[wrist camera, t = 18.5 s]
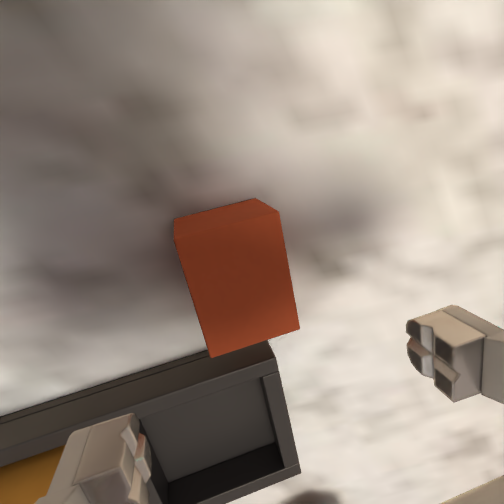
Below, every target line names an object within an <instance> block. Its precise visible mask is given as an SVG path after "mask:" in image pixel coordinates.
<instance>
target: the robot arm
mask: <svg viewBox="0 0 504 504" xmlns="http://www.w3.org/2000/svg"><path fill="white" fill-rule="evenodd" d="M406 333H407V334H408V335H409V336H410V337H411V338H410V340H409V341H408V343H407V353H408V356H409V358H410V361H411V363H412V364H413V366H414V367H415V368H416V370H418V371H419V372H420V373H421V374H422V375H424V376H427V377H430V378H433V380H434V385H435V387H437V388H438V389H439V390H440V391H441V392H442V393H443V394H445V395H446V396H447V397H448V398H449V399H450V400H451V401H453V402H457V401H460V400H463V399H465V398H468V397H471V396H474V395H477V394H480V393H481V395H483V396H486V397H488V398H491V399H493V400H495V401H498V402H500V403H503V404H504V330H503V329H501V328H499V327H497V326H495V325H494V324H492V323H490V322H488V321H486V320H484V319H482V318H480V317H478V316H476V315H474V314H472V313H471V312H469V311H467V310H465V309H463V308H461V307H459V306H456V305H450V306H447V307H444V308H441V309H439V310H437V311H434V312H431V313H428V314H425V315H422V316H420V317H417V318H414V319H411V320H408V322H407V324H406ZM139 429H140V422H139V420H138V418H137V415H136V414H135V413H130V414H127V415H123V416H120V417H117V418H114V419H110V420H107V421H104V422H101V423H98V424H94V425H93V426H89V427H86V428H83V429H79V430H76V431H74V432H73V433H72V434H71V435H70V436H69V438H68V441H67V443H66V446H65V448H64V451H63V453H62V456H61V459H60V461H59V464H58V466H57V469H56V471H55V474H54V476H53V479H52V482H51V484H50V487H49V489H48V492H47V494H46V496H44V497H41V498H39V499H38V500H37V501H36V502H35V503H34V504H149V495H150V493H149V490H148V488H147V486H146V483H147V481H148V479H149V478H150V476H151V469H152V461H151V451H150V447H149V443H148V440H147V438H146V436H145V435H143V434H141V433H139ZM440 504H504V475H503V476H501V477H498V478H496V479H494V480H492V481H489V482H487V483H485V484H483V485H480V486H478V487H476V488H474V489H471V490H469V491H467V492H465V493H462V494H460V495H458V496H456V497H453V498H451V499H449V500H447V501H444V502H442V503H440Z"/></svg>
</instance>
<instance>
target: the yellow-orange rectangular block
mask: <svg viewBox="0 0 504 504" xmlns="http://www.w3.org/2000/svg"><path fill="white" fill-rule="evenodd" d="M65 446H66V445H63V446H60V447H57V448H54V449H52V450H49V451H46V452H43V453H40V454H37V455H34V456H31V457H28V458H26V459H23V460H20V461H17V462H14V463H11V464H8V465H5V466H3V467H0V504H34V503H35V502H36V501H37V500H38V499H39V498H41V497H44V496H46V494H47V492H48V489H49V487H50V484H51V482H52V479H53V476H54V474H55V471H56V469H57V466H58V464H59V461H60V459H61V456H62V453H63V451H64V448H65Z"/></svg>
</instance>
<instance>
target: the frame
mask: <svg viewBox="0 0 504 504" xmlns="http://www.w3.org/2000/svg"><path fill="white" fill-rule="evenodd" d="M130 413H135V414H136V415H137V418H138V420H139V422H140V429H139V433H141V434H143V435H145V436H146V438H147V440H148V443H149V447H150V451H151V461H152V469H151V476H150V478H149V479H148V481H147V483H146V486H147V488H148V490H149V493H150V495H149V504H226V503H228V502H231V501H233V500H236V499H238V498H241V497H243V496H246V495H248V494H251V493H253V492H256V491H258V490H261V489H263V488H265V487H268V486H270V485H273V484H275V483H278V482H280V481H283V480H285V479H288V478H290V477H293V476H295V475H298V474H300V473H301V469H300V464H299V460H298V455H297V451H296V446H295V442H294V437H293V433H292V428H291V424H290V419H289V415H288V410H287V405H286V401H285V396H284V392H283V387H282V383H281V378H280V374H279V371H278V365H277V361H276V357H275V355H274V353H273V351H272V349H271V347H270V345H269V343H268V341H267V340H265V341H262V342H259V343H256V344H253V345H250V346H247V347H244V348H241V349H238V350H235V351H232V352H229V353H225V354H222V355H219V356H216V357H213V358H211V357H210V355H209V351H208V350H207V351H204V352H201V353H198V354H195V355H192V356H188V357H185V358H182V359H179V360H176V361H173V362H170V363H167V364H164V365H161V366H158V367H154V368H151V369H148V370H145V371H142V372H139V373H136V374H133V375H130V376H127V377H124V378H121V379H117V380H114V381H111V382H108V383H105V384H102V385H99V386H96V387H93V388H90V389H87V390H84V391H80V392H77V393H74V394H71V395H68V396H65V397H62V398H59V399H56V400H53V401H50V402H47V403H43V404H40V405H37V406H34V407H31V408H28V409H25V410H22V411H19V412H16V413H13V414H10V415H6V416H3V417H0V467H3V466H5V465H8V464H11V463H14V462H17V461H20V460H23V459H26V458H28V457H31V456H34V455H37V454H40V453H43V452H46V451H49V450H52V449H54V448H57V447H60V446H63V445H66V443H67V441H68V438H69V436H70V435H71V434H72V433H73V432H74V431H76V430H79V429H83V428H86V427H89V426H93V425H94V424H98V423H101V422H104V421H107V420H110V419H114V418H117V417H120V416H123V415H127V414H130Z"/></svg>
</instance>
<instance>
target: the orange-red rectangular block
mask: <svg viewBox="0 0 504 504" xmlns="http://www.w3.org/2000/svg"><path fill="white" fill-rule="evenodd" d="M174 243H175V246H176V249H177V252H178V256H179V259H180V262H181V265H182V268H183V272H184V275H185V278H186V281H187V284H188V288H189V291H190V294H191V297H192V300H193V303H194V307H195V310H196V313H197V316H198V319H199V323H200V326H201V329H202V332H203V335H204V339H205V342H206V345H207V348H208V351H209V355H210V357H211V358H213V357H216V356H219V355H222V354H225V353H229V352H232V351H235V350H238V349H241V348H244V347H247V346H250V345H253V344H256V343H259V342H262V341H265V340H268V339H271V338H274V337H277V336H280V335H283V334H286V333H289V332H292V331H295V330H298V329H300V326H299V320H298V315H297V309H296V303H295V298H294V292H293V287H292V281H291V276H290V270H289V265H288V259H287V254H286V248H285V243H284V237H283V232H282V226H281V220H280V215H279V212H278V211H277V210H275V209H274V208H272V207H270V206H268V205H267V204H265V203H263V202H261V201H260V200H258V199H256V198H254V199H250V200H247V201H243V202H239V203H235V204H231V205H227V206H223V207H219V208H215V209H211V210H207V211H203V212H199V213H196V214H192V215H188V216H184V217H180V218H176V219H174Z"/></svg>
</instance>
